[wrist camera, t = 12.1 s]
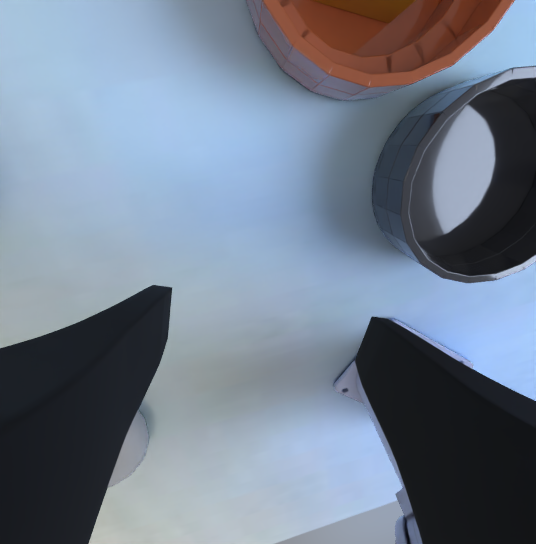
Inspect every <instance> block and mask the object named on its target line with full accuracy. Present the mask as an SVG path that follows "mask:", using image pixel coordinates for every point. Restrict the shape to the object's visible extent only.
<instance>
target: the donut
mask: <svg viewBox="0 0 536 544" xmlns="http://www.w3.org/2000/svg"><path fill="white" fill-rule="evenodd" d="M148 441H149V434H148V430H147V425H146V421H145V419H144V417H143V416H142V415H141V413H140V412H139V410H138V411H137V413H136V415H135V417H134V419H133V421H132V424H131V426H130V428H129V430H128V433H127V435H126V438H125V440H124V443H123V445H122V448H121V451H120V454H119V456H118V459H117V462H116V465H115V468H114V470H113V473H112V476H111V479H110V482H109V485H108V487H111V486H113V485H115V484H117V483H119V482H121V481H122V480H124V479H125V478H127V477H129V476H130V475H131V474H132V473H133V472H134V471H135V469H136V468H137V467H138V466H139V465H140V463H141V462H142V461H143V459H144V457H145V454H146V450H147V446H148Z"/></svg>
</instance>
